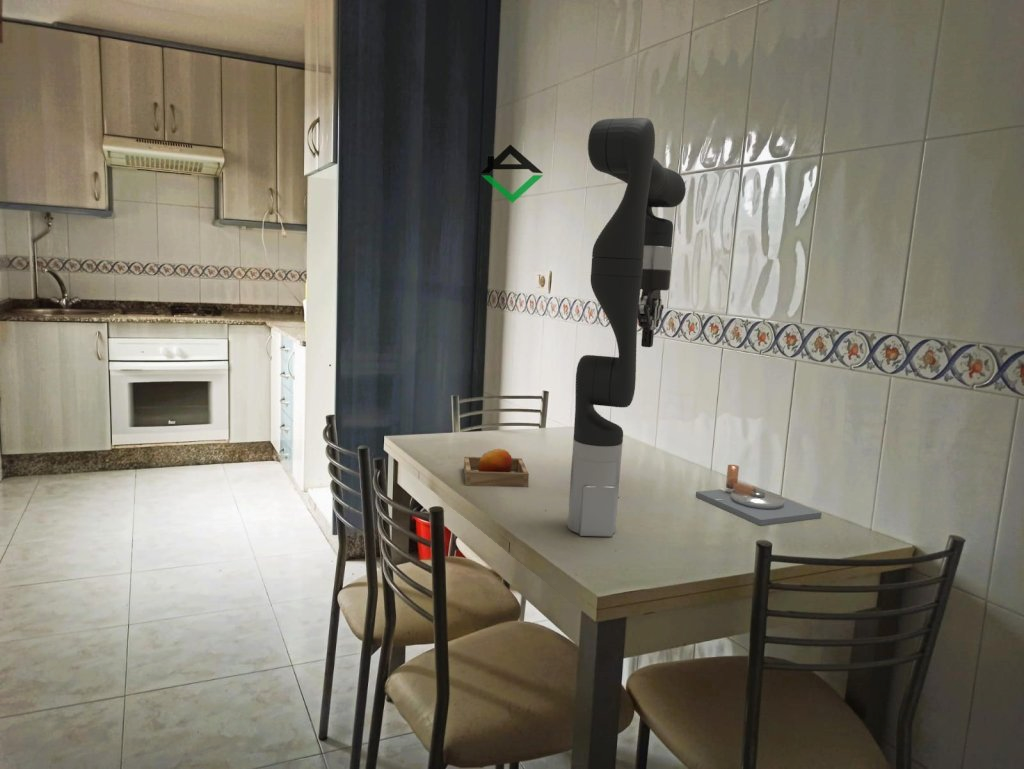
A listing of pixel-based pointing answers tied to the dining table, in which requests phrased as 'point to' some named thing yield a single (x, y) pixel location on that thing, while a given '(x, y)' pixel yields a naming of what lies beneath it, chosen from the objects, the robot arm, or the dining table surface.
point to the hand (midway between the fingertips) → (646, 346)
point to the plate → (759, 516)
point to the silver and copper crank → (751, 493)
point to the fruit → (495, 461)
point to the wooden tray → (495, 474)
